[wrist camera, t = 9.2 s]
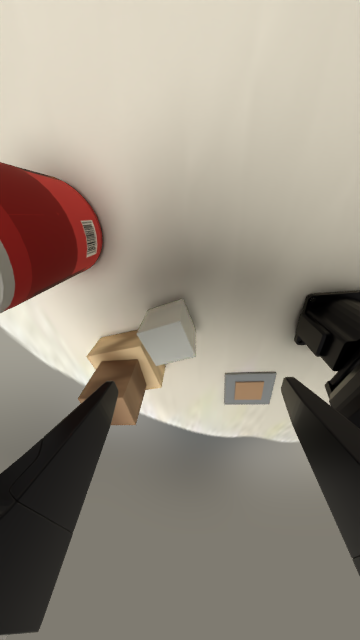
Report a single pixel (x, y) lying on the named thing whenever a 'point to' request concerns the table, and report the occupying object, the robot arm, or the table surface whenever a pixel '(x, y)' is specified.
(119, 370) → the walnut block
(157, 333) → the grey block
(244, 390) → the card
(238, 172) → the table surface
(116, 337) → the oak base
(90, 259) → the canned food
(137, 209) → the table surface
